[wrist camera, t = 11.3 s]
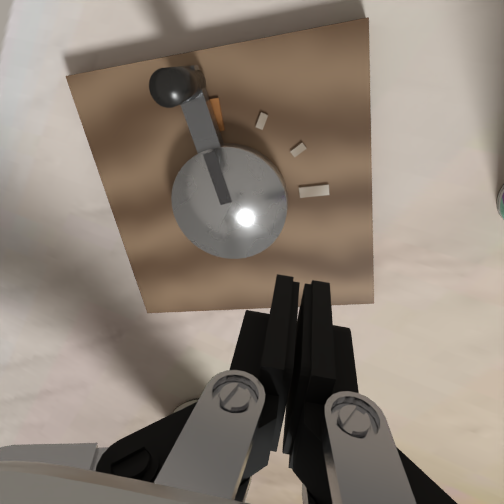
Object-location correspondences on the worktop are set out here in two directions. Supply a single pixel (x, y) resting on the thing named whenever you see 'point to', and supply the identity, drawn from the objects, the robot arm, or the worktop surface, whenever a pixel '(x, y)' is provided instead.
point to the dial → (220, 177)
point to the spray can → (501, 202)
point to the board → (259, 138)
